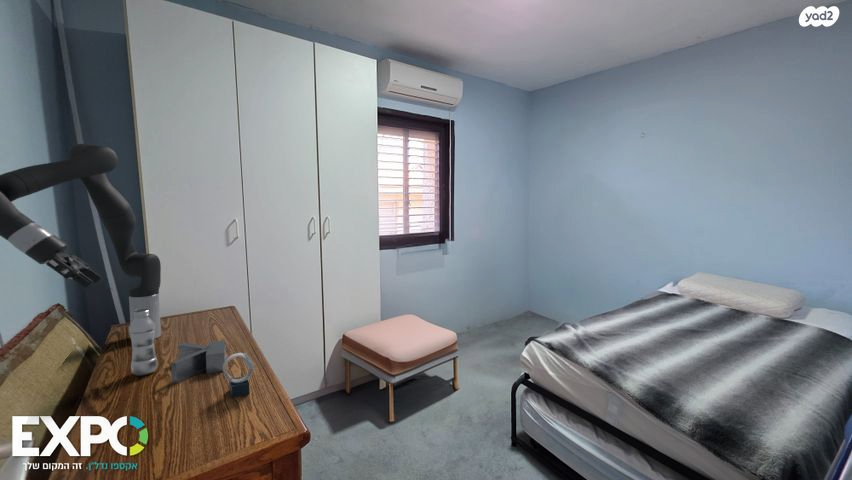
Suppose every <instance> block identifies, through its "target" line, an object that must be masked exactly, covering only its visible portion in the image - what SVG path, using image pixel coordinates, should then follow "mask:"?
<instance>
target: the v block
mask: <svg viewBox="0 0 852 480" xmlns="http://www.w3.org/2000/svg"><path fill="white" fill-rule="evenodd" d="M207 343H208V344H207V345H203V344H202V345H201V344H195V343H190V342H182V343H179V344H178V359H176V360H174V361H171V362H170V364H171V367H170V368H171V383H175V384H179V383H180V382H183V381H185V380H186V379H189V378H191V377H194V376H195V375H197V374H199V373H201V372H204V371H206V375H208V374H214V373H219V372H223V363H224V362H225V360H226V359H227V354H226V351H227V350H226V339H222V340H215V341H208V342H207Z"/></svg>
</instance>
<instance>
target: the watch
mask: <svg viewBox="0 0 852 480" xmlns="http://www.w3.org/2000/svg"><path fill="white" fill-rule="evenodd" d="M238 357H240V358H241V360H242V362H243V363H244V364H245V366H246V367H247V368H248V369H249V371H248V373H247V374H246V375H242V376H237V377H234V378H233V377H232V376H231V375H230V374H229V373H228V372H227V368H226V366H227V364H229V362H230V361H231V360H233V359H235V358H238ZM255 367H256V366H255V364H254V362H253V361H252V359H251V358H250V357H249V355H248V354H247V353H246V352H244V353H243V352H236V353H233V354H230V355H229V356H228V357H226V360H225V362H224V363H223V371H222V373H223V376H224V377H225V378H226V380H227V381H228V387H229V388H228V389H229V393H230V396H231V399H235V398H238V397H242V396H247V395H250V382H249V380H248V379H250V378H251V377H252V375H253V373H254V371H255V370H254V368H255Z"/></svg>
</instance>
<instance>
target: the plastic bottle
mask: <svg viewBox="0 0 852 480" xmlns="http://www.w3.org/2000/svg"><path fill="white" fill-rule="evenodd" d="M148 316H149V309H139V310H135V311H134V318H135V319H134V320H133V322H132V323H131V322H130V325H129V327H128V332H129V333H128V334H129V337H130V340H131V341H130V342H131V350H132V355H131V362H130V370H131V373H132V374H133V375H134V376H145V375H149V374H151V373H154V372H155V371H156V370H157V368H158V364H159V363H158V359H157V358H158V357H157V356H156V351H155V350H156V349H155V339H154V333H155V324H154V322H153V321H152V320H151V319H150V318H149V317H148Z"/></svg>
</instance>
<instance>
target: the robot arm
mask: <svg viewBox="0 0 852 480" xmlns="http://www.w3.org/2000/svg"><path fill="white" fill-rule="evenodd" d="M118 163H119V158H118V155H117V154H116V152H115V151H114V150H113V149H112V148H110V147H108V146H106V145H101V144H91V143H76V144H73V145H72V146H71V147H70V149H69V151H68V159H63V160H59V161H58V160H57V161H53V162H48V163H47V162H46V163H40V164H35V165H30V166H24V167H22V168H21V167H20V168H18V169H14V170H11V171H8V172H5V173H1V174H0V237H1V238H3V239H5V240H6V241H7V242H9V243H10V244H11V245H12V246H13V247H14V248H15V249H17V250H19V252H22V253H23V254H24V255H26V256H27V257H29V258H30V259H32V260H33V261H35V262H36V263H38V264H39V265H45V264H46V266H47V267H49V268H51V269H52V270H53V271H55V272H56V273H58V274H59V275H61V277H63V278H65V279H66V280H67V279H69V280H74V281H75V282H76V283H78V284H79V285H81V286H82V287H84V288H88V287H90V286H91V285H92V284H93V283H94V284H95V283H98V282H99V281H100V280H101V279H102V276H101V275H99V274H98V273H96V272H95V271H94V270H92V269H91V267H92V265H90V264H89V263H87V262H86V261H84V260H82V259H81V258H80V257H79V256H77V255H76V254H75V253H72V252H71V253H70V254H68V253H67V252H65V250H67V249H68V248H69V245H68V244H67V243H66V242H64V241H63V240H62V239H60V238H59V237H58V236H56V235H55V234H54V233H52V232H51V231H49V230H48V229H47V228H46V227H43V226H41V225H40V224H38V223H36V222H35V221H34V220H32V219H31V218H30V217H28V216H27V215H25V214H24V213H22V212H21V210H19V209H17V207H16V206H15V205H14V203H13V202H14V201H15V200H18V199H20V198H24V197H26V196H30V195H32V194H36V193H38V192H40V191H43V190H47V189H49V188H52V187H55V186H58V185H61V184H64V183H67V182H72V181H75V180H78V179H80V181H82V183H83V185H84V187H85V188H86V190H87V193H88V195H89V197H90V199H91V200H92V203H93V205H94V207H95V208H96V210H97V213H98V216H99V218H100V220H101V222H102V224H103V226H104V229H105V230H106V232H107V234H108V237H109V239H110V241H111V243H112V246H113V248H114V251H115V253H116V257H117V260H118V263H119V266H120V269H121V270H122V272H123V274H124V275H125V276H127V277H129V278H140V282H139V284H137V285H135V286H133V287H131V288H129V289H128V303H129V318H130V319H129V321H130V324H131V323H132V322H133V320H134V319H135V318H134V311H135V310H139V309H149V316H148V317H149V318H150V319H151V320H152V321H153V322H154V324H155V333H154V340H156V339H157V338H160V337H161V336H162V331H161V330H162V328H161V313H160V312H161V309H160V308H161V306H160V287H161V278H162V277H161V274H162V273H161V271H162V269H161V267H162V266H161V259H160V258H159V256H158V255H157V254H154V253H138V252H137V250H136V247H135V245H134V241H133V238H134V234H135V232H136V228H137V218H136V216H135V214H134V211H133V208H132V206H131V204H130V203H129V202H128V201H127V199H126V198H125V197H124V196H123V195H122V194H121V193H120V192H119V191H118V190H117V189H116V188H115V187H114V186H113V185H112V183H111V182H110V181H109V179H108V176H107V173H110V172H112V171H114V170H115V169H116V168H117V167H118Z"/></svg>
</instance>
